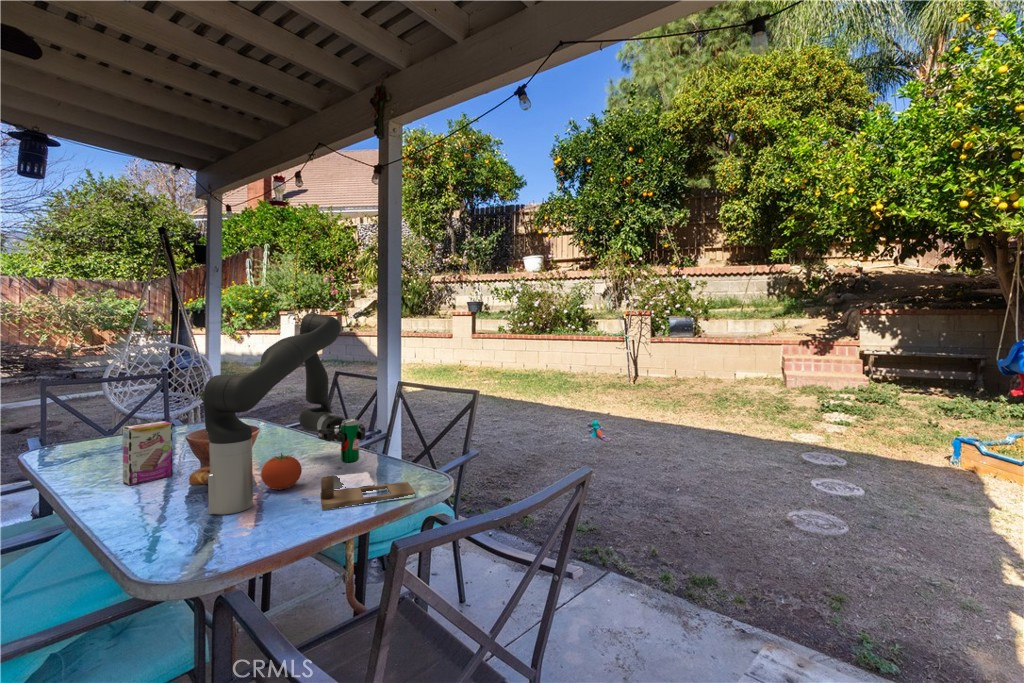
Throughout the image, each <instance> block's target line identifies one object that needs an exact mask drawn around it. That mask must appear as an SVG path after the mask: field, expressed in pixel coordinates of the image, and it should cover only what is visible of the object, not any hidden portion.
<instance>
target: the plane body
mask: <svg viewBox="0 0 1024 683" xmlns="http://www.w3.org/2000/svg"><path fill="white" fill-rule="evenodd" d="M320 485H321V486H320V491H321V492H320V496H319V497H320V504H321V510H324V511H328V510H327V509H331V510H333V509H332V508H338V509H340V508H339V507H345V506H352V505H359V504H364V503H371V502H376V501H381V500H387V499H394V498H399V497H404V496H408V495H413V494H415V495H416V491H415V490H414V489H413V487H412V486H411V484H410V483H409V481H403V482H395V483H387V484H386V483H385V484H379V485H374V486H368V487H360V488H352V489H344V490H336V491H334V477H327V476H324V477H321V479H320ZM385 488H387V489H388V492H389V493H390V494H388V492H387V494H380V495H374V496H365V497H364V494H362V492H366V491H373V490H379V489H385Z"/></svg>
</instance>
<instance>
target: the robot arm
mask: <svg viewBox="0 0 1024 683" xmlns="http://www.w3.org/2000/svg"><path fill="white" fill-rule="evenodd" d="M299 326H300V327H299V334H295V335H292V336H288V337H284V338H282V339H280V340H278V341H276V342H275V343H273V344H271V345H270V346H269V347H267V349H265V350H264V352H263V353H262V355H261V357H260V358H261V359H260V363H259V364H260V365H259V367H257V368H255V369H254V370H252V371H250V372H248V373H244V374H238V375H237V374H217V375H214V376H212V377H210V378H209V379H208V380H207V381H206V383H205V386H204V388H203V396H202V398H203V399H202V400H203V402H202V403H203V413H204V427H205V430H206V432H207V435H208V438H209V439H208V440H209V442H208V443H209V445H208V446H209V449H208V450H209V453H208V454H209V467H210V474H209V475H208V487H207V488H208V489H207V490H208V515H231V514H232V515H233V514H237V513H241V512H243V511H246V510H248V509H251V508H252V507H253V505H254V490H253V489H254V483H253V482H254V481H253V474H254V473H253V472H254V471H253V431H252V426H251V425H249V424H247V423H245V422H244V421H241V419H239V418H238V416H237V415H236V414H237V413H238V414H239V413H246V412H249V411H250V410H252V409H253V408H254V407H256V406H257V405H258V404H259V403H260V402H261V401H262V400H263V399H264V398H265V396H266V395H267V394H268V393H269V392H270V391H271V390H272V389H273V388H274V387H275V386H277V384H279V383H280V382H281V381H283V379H285V378H286V377H287V376H289V375H290V374H292V373H293V372H295V370H296V369H298V368H299V367H300V366H301V365H303V363H304V370H305V400H306V402H308V403H309V404H312V405H320V407H319V406H318V407H313V408H307V409H304V410H302V411H301V412H300V414H299V418H298V421H299V425H300V426H301V428H302V429H303V430H305V431H308V432H312V433H313V432H315V433H317V434H318V436H317V438H318V439H319V440H323V441H326V442H339V443H340V444H341V443H344V442H345V435H344V434H342V433H341V423H342V421H343V420H346V418H344V417H342V416H340V415H337V414H335V413H333V411H332V408H331V404H330V400H329V399H330V398H329V375H328V371H327V370H326V368H325V366H324V364H323V362H322V361H321V358H320V356H319V354H318V353H319V352H320V351H322V350H324V349H326V348H327V347H329V346H330V345H332V344H333V343H335V341H336V340H337V339H338V338H339V335H340V334H341V333H340V332H341V329H342V326H341V324H340V321H339V320H338V319H337V318H336V317H334V316H331V315H325V314H319V313H314V312H313V313H311V312H310V313H306V314H305V315H304V316H303V317H302V318H301V321H300V325H299ZM365 437H366V427H365V425H364V424H363V423H359V441H360V440H361V441H363V440H364V439H365Z"/></svg>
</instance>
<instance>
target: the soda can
mask: <svg viewBox="0 0 1024 683" xmlns="http://www.w3.org/2000/svg"><path fill="white" fill-rule="evenodd" d="M345 419H346V418H345ZM359 424H360V423H359V422H358V419H356V418H355V419H354V418H347V419H346V420H343V421H342V423H341V433H342V434H344V435H345V442H344V443H341V442H340V461H341V462H342V463H344V464H353V463H356V462H358V461H359V460H360V439H359Z"/></svg>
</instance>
